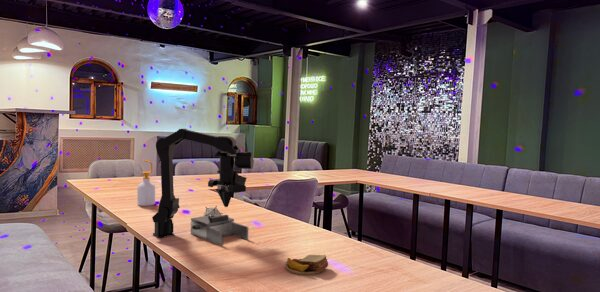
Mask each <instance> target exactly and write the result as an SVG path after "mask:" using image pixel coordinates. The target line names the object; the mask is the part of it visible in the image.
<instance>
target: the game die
mask: <svg viewBox="0 0 600 292" xmlns="http://www.w3.org/2000/svg"><path fill="white" fill-rule="evenodd" d="M214 214H220V215H224V213H222V212H220V210H219V209H218V208H217V205H216V206H215V207H207V206H205V210H204V214H203V216H208V215H214Z"/></svg>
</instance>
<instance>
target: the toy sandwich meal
mask: <svg viewBox="0 0 600 292" xmlns="http://www.w3.org/2000/svg"><path fill="white" fill-rule="evenodd" d="M328 266H329V262H328V258H327V255H326V254H307V255H306V256H305V257H302V258H298V259H297V258H292V259H291V258H290V257H288V258H287V260H286V263H285V268H286V269H287V271H288V272H290V273H293V274H295V275H300V276H302V275H303V276H311V275H316V274H319V273H321V272H322V271H323V270H325V269H327V268H328Z"/></svg>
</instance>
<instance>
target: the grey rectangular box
mask: <svg viewBox="0 0 600 292" xmlns="http://www.w3.org/2000/svg"><path fill="white" fill-rule="evenodd" d="M190 234H191V235H193V236H196V237H198V238H200V239H202V240H205V241H207V242H210V243H213V244H215V245H217V246H220V247H222V246H223V243H224V242H223V241H224V239H223V238H224V237H227V236H235V237H238V238H240V239H243V240H245V241H247V240H249V226H247V225H243V224H241V223H237V222H235V221H233V222H228V223H222V224H217V225H212V226H204V225H201V224H199V223H196V222H193V221H191V220H190Z"/></svg>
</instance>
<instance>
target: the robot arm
mask: <svg viewBox="0 0 600 292" xmlns="http://www.w3.org/2000/svg"><path fill="white" fill-rule="evenodd" d="M184 140H188V141H191V142H196V143H200V144H206V145H209V146H212V147H214V148H215V149H217V150H218V151H217V152H216V153H215V154H214V157H218V158H219V170H217V172H216V173H217V174H219V176H218V177H219V178H214V179H211V178H210V179H209V181H207V187H209V188H213V187H217V188H216V189H215V191H216V192H217V194H218V196H219V198H220V201H221V202H222V205H223V206H224V207H225V208H229V207H228V206H229V204H230V202H231V199H232V197H233V194H234V193H235V194H236V193H244V192H247V186H246V181H247V178H248V177H245V176H243V175H239V173H238V172H237V170H235V167H237V169H242V170H244V169H245V170H253V169H254V164H255V163H254V162H255V161H254V155H253V151H241V150H240V148H239V146H237V141H236V140H235V138H234V137H233V136H229V135H226V136H225V135H212V134H208V133H203V132H199V131H196V130H190V129H187V128H179V129H178V130H176V131H175V132H173V133H171V134H170V135H167V136H166V137H161V138H159V139H157V141H156V142H155V149H156V153H157V157H158V158H159V160H160V161H159V162H160V178H161V179H160V181H161V198H160V200H159V203H158V208H157V212H156V213H155V214H153V216H151V219H152V222H153V223H154V233H152V235H153V236H155V237H157V238H160V239H161V238H165V237H172V236H175V233H174V222H173V219H174V216H175V215H176V214H178V211H179V209H180V208H181V207H180V198H179V197H176V196H175V194H174V193H175V192H174V190H175V189H174V167H173V165H174V164H173V160H174V157H175V153H176V148H177V146H178V145H179V144H181V143H182V142H183V141H184Z"/></svg>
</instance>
